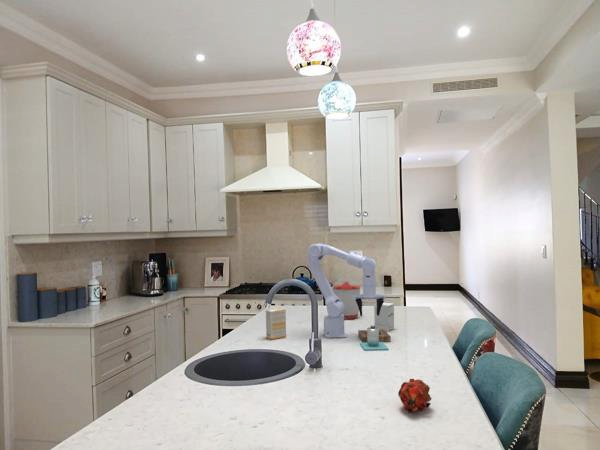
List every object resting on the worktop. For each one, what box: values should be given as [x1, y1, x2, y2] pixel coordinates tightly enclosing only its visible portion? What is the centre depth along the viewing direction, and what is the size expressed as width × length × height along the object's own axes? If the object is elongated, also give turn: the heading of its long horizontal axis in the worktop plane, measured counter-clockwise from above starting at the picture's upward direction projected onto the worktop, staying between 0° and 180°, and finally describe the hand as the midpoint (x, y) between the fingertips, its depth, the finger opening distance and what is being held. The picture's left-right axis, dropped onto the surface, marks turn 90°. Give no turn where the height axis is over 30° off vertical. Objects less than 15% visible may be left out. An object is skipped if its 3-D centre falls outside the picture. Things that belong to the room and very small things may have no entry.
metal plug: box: [366, 325, 379, 347], centre depth 181 cm, size 5×5×8 cm
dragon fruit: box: [397, 378, 432, 413], centre depth 119 cm, size 8×8×12 cm
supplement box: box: [265, 307, 287, 341], centre depth 197 cm, size 8×5×13 cm, turn 124°
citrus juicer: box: [332, 281, 361, 320], centre depth 239 cm, size 16×17×20 cm
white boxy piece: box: [373, 302, 395, 333], centre depth 211 cm, size 7×7×13 cm
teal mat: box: [359, 342, 389, 352], centre depth 180 cm, size 10×10×1 cm
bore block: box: [357, 329, 392, 343], centre depth 193 cm, size 12×12×2 cm
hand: (369, 315), depth 194 cm, fingers open, 7 cm apart
